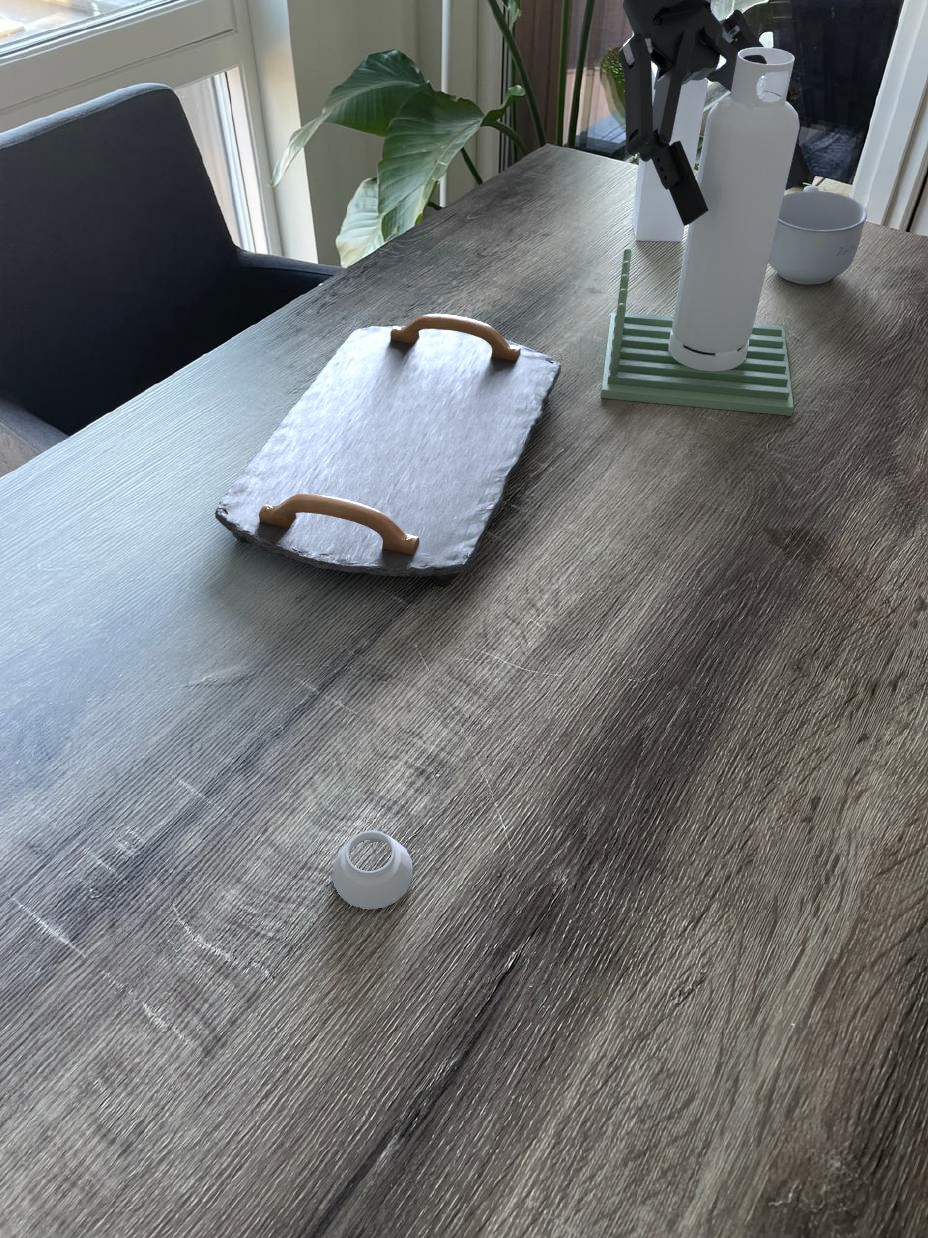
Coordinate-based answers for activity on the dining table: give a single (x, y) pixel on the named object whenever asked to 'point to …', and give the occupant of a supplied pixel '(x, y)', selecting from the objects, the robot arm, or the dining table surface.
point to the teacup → (816, 235)
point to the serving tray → (396, 451)
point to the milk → (652, 200)
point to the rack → (656, 377)
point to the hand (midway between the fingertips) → (748, 200)
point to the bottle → (735, 213)
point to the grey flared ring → (372, 874)
